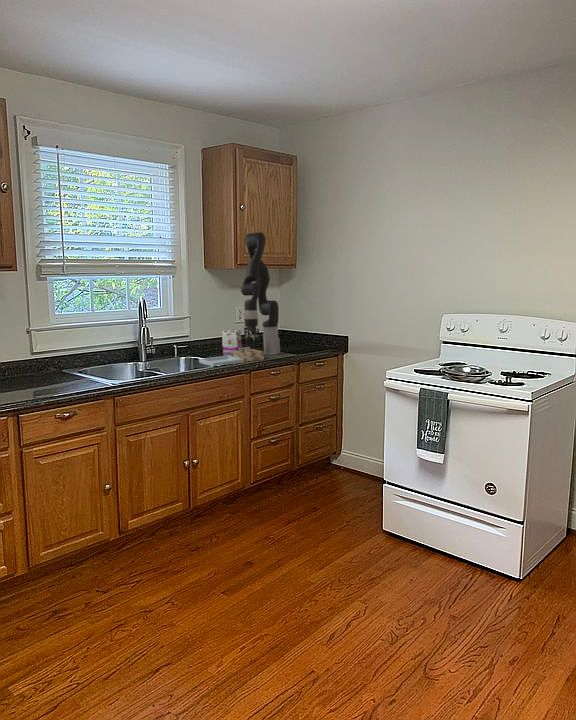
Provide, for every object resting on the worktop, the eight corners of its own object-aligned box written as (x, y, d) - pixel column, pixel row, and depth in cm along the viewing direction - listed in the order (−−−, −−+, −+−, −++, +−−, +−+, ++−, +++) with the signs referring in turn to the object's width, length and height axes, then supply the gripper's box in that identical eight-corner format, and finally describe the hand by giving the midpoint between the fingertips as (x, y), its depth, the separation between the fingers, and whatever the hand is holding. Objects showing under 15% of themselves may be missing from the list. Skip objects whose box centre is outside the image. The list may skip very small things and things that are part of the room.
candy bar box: (242, 357, 370) (241, 330, 367) (238, 358, 365) (236, 331, 363) (227, 356, 375) (225, 329, 372) (222, 357, 370) (221, 330, 368)
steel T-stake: (249, 358, 363) (249, 346, 362) (251, 358, 362) (250, 347, 361) (241, 359, 361) (241, 347, 360) (243, 359, 359) (242, 348, 358)
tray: (228, 359, 362) (228, 355, 362) (243, 363, 347) (243, 359, 346) (199, 363, 353) (199, 359, 352) (213, 367, 337) (213, 363, 336)
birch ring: (254, 356, 368) (254, 348, 368) (265, 359, 357) (264, 351, 357) (233, 359, 361) (233, 351, 360) (244, 362, 350) (243, 353, 349)
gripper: (262, 318, 346) (263, 346, 348) (251, 317, 358) (251, 344, 360) (251, 319, 342) (252, 347, 345) (239, 317, 354) (240, 345, 357)
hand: (251, 345), depth 352 cm, fingers open, 8 cm apart
